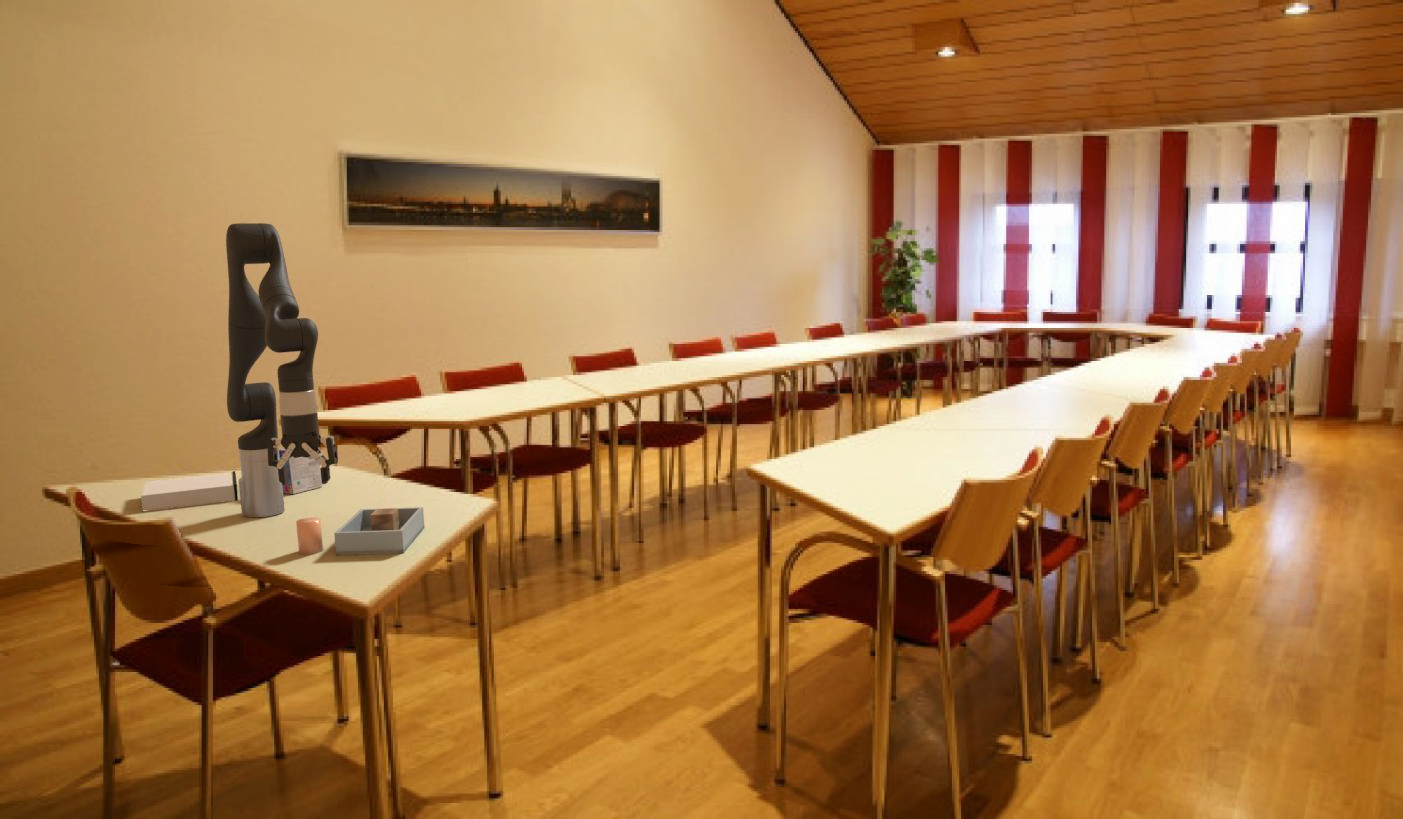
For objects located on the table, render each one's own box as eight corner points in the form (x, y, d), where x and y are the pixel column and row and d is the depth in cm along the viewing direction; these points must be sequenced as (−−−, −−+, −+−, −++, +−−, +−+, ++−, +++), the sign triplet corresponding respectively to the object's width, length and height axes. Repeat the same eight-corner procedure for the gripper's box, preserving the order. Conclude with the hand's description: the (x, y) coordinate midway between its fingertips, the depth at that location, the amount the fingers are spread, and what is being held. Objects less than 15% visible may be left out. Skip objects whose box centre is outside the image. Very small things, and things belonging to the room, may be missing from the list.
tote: (336, 555, 219) (334, 533, 218) (362, 529, 238) (360, 509, 238) (403, 553, 220) (402, 530, 219) (424, 527, 239) (423, 507, 238)
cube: (372, 536, 230) (370, 514, 229) (378, 529, 235) (376, 509, 234) (394, 535, 230) (392, 514, 230) (399, 529, 235) (398, 508, 235)
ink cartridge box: (311, 484, 284) (306, 434, 282) (323, 487, 282) (319, 436, 279) (280, 492, 276) (275, 441, 274) (293, 495, 273) (288, 442, 271)
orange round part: (295, 555, 220) (292, 524, 219) (303, 548, 225) (300, 517, 224) (318, 554, 220) (316, 523, 219) (326, 547, 225) (323, 517, 224)
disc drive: (238, 502, 269) (236, 483, 268) (143, 513, 259) (140, 494, 259) (237, 488, 285) (235, 470, 284) (147, 498, 275) (145, 480, 274)
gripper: (258, 415, 213) (265, 489, 216) (326, 413, 214) (332, 487, 217) (271, 409, 221) (278, 481, 223) (337, 407, 221) (343, 479, 224)
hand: (305, 484), depth 220 cm, fingers open, 8 cm apart
